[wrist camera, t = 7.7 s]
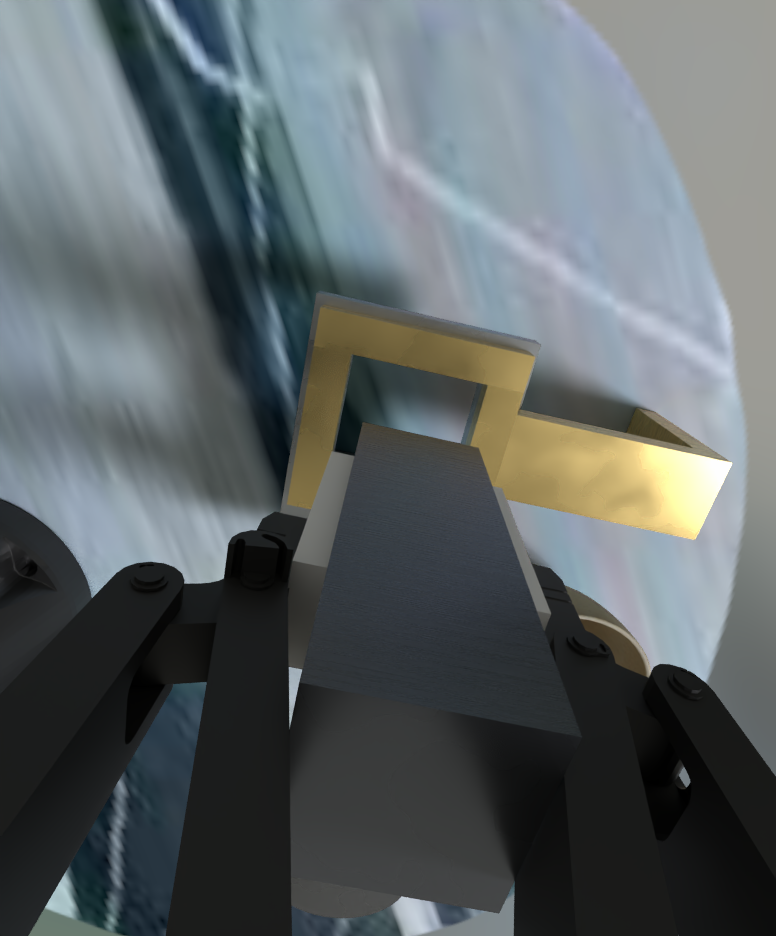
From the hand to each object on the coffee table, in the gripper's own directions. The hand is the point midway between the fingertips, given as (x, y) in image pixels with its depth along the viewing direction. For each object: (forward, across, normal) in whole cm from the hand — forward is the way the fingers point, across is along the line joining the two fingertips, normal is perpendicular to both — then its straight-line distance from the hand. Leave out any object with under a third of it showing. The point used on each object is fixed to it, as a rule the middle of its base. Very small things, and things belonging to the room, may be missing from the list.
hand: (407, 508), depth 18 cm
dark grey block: (+2, 0, 0) cm, 2 cm away
